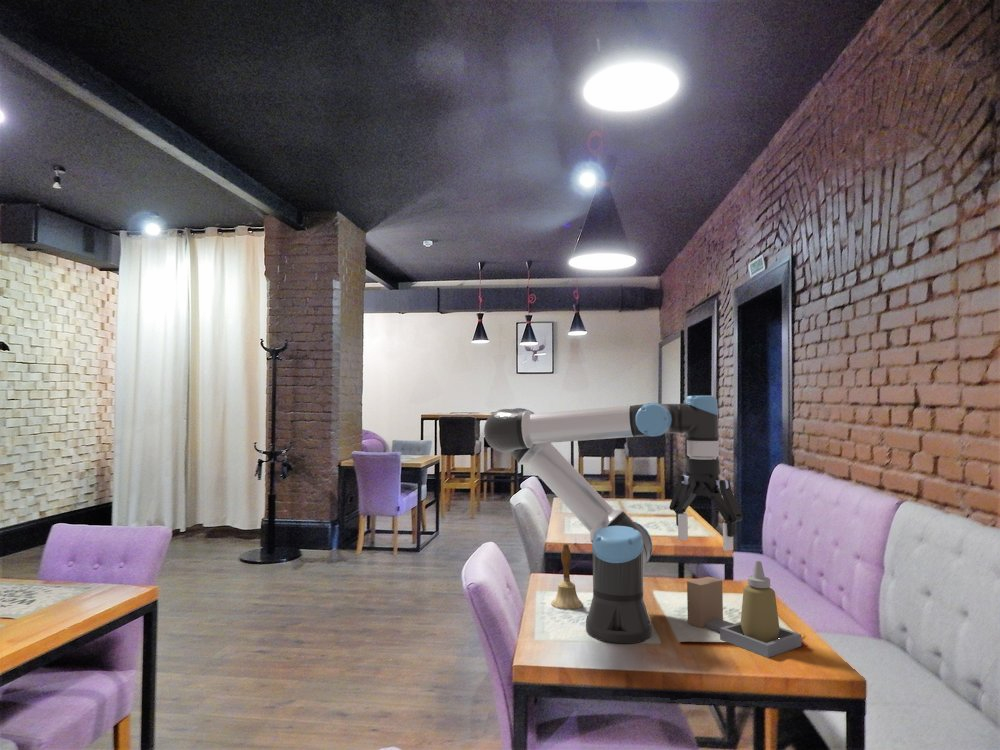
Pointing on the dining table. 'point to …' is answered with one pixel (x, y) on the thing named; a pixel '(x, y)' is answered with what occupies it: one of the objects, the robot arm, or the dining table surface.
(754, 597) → the squeeze bottle
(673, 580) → the dining table surface
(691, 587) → the grey tray with block
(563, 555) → the hand bell
